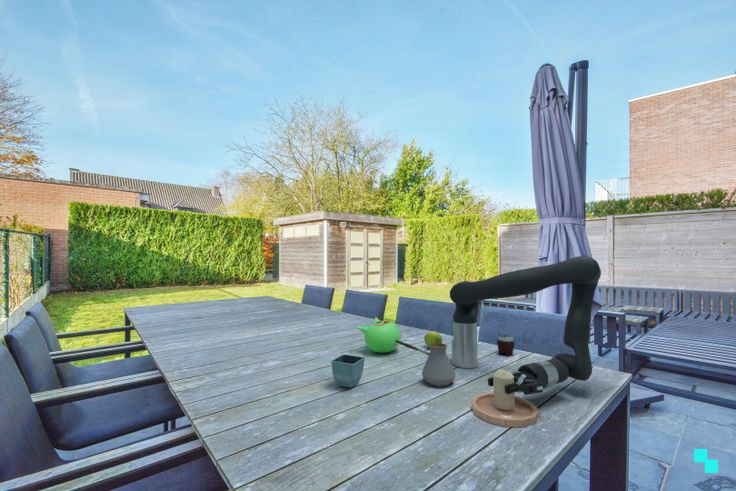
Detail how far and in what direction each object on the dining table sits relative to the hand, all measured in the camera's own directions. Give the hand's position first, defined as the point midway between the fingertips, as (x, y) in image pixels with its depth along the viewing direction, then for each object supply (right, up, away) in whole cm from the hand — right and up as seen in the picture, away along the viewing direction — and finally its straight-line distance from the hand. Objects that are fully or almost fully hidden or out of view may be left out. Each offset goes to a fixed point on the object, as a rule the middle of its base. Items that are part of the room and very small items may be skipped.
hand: (497, 386), depth 96 cm
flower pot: (-43, -9, +22) cm, 49 cm away
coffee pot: (-17, -8, +23) cm, 30 cm away
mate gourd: (+24, -9, +55) cm, 61 cm away
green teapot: (-30, -9, +61) cm, 68 cm away
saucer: (+2, -8, +1) cm, 8 cm away
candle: (+2, -6, +1) cm, 7 cm away
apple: (-5, -9, +65) cm, 66 cm away
